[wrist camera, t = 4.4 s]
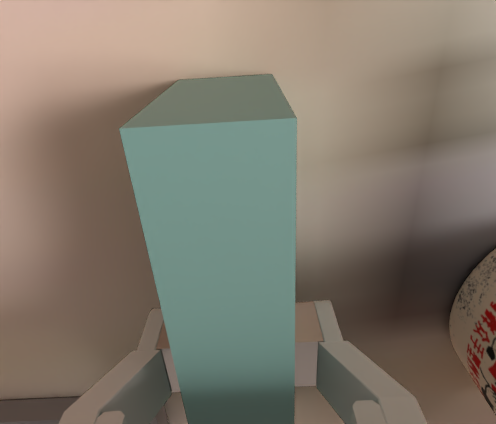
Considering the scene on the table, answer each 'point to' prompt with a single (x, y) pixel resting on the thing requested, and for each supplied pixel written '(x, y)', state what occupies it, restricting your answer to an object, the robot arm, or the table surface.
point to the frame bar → (222, 240)
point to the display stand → (47, 411)
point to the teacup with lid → (477, 326)
